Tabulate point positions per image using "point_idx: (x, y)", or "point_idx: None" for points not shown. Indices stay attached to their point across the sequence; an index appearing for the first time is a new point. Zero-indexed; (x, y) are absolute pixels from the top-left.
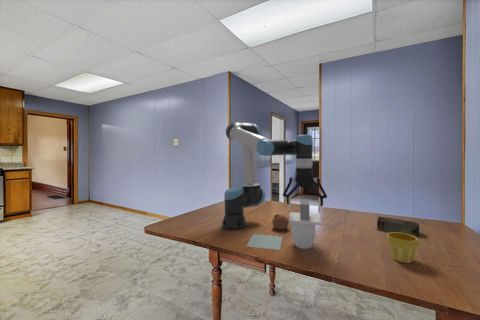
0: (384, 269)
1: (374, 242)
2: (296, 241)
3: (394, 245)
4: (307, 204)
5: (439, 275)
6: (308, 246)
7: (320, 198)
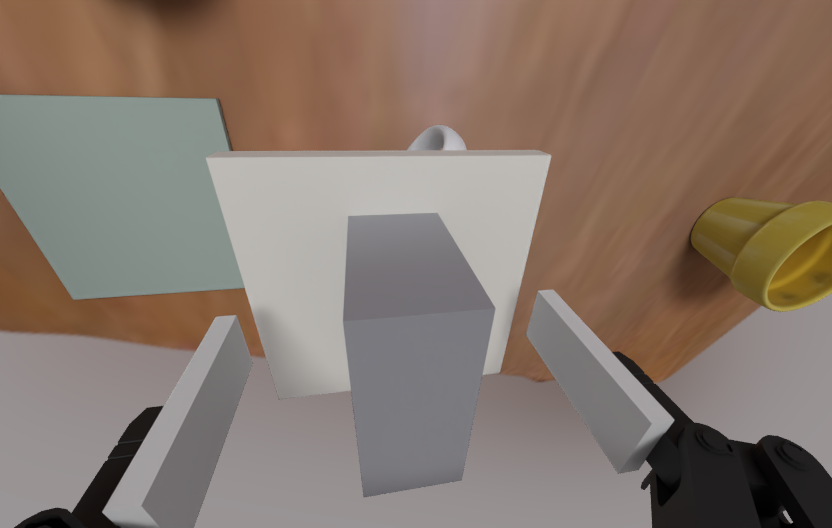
0: (610, 303)
1: (757, 55)
2: None
3: (733, 283)
4: (444, 475)
5: (724, 292)
6: None
7: (650, 480)
